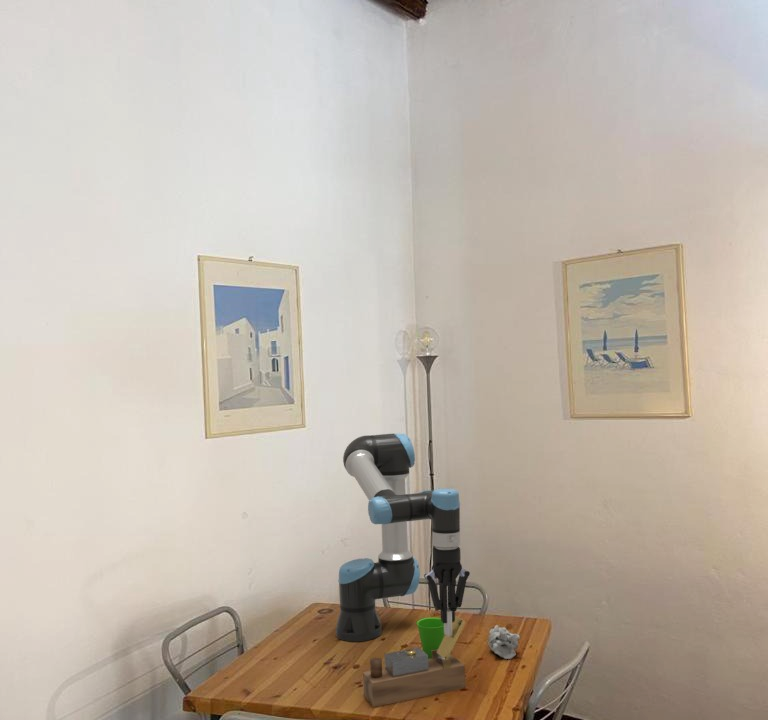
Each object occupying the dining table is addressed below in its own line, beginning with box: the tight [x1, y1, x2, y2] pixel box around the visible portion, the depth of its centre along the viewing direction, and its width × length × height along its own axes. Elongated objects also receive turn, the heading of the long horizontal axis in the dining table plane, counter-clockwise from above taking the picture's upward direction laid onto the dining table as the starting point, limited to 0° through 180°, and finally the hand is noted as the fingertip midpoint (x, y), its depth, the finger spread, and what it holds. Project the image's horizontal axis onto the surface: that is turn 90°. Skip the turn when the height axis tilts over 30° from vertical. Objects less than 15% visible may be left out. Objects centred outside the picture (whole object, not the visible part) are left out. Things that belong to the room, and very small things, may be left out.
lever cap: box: [384, 647, 429, 677], centre depth 189 cm, size 6×10×5 cm, turn 110°
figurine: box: [487, 624, 521, 660], centre depth 213 cm, size 8×10×12 cm
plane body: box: [362, 649, 466, 708], centre depth 190 cm, size 8×26×10 cm, turn 110°
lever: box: [434, 614, 466, 663], centre depth 194 cm, size 6×1×12 cm
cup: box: [416, 616, 445, 659], centre depth 210 cm, size 9×9×11 cm
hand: (448, 634), depth 194 cm, fingers closed
